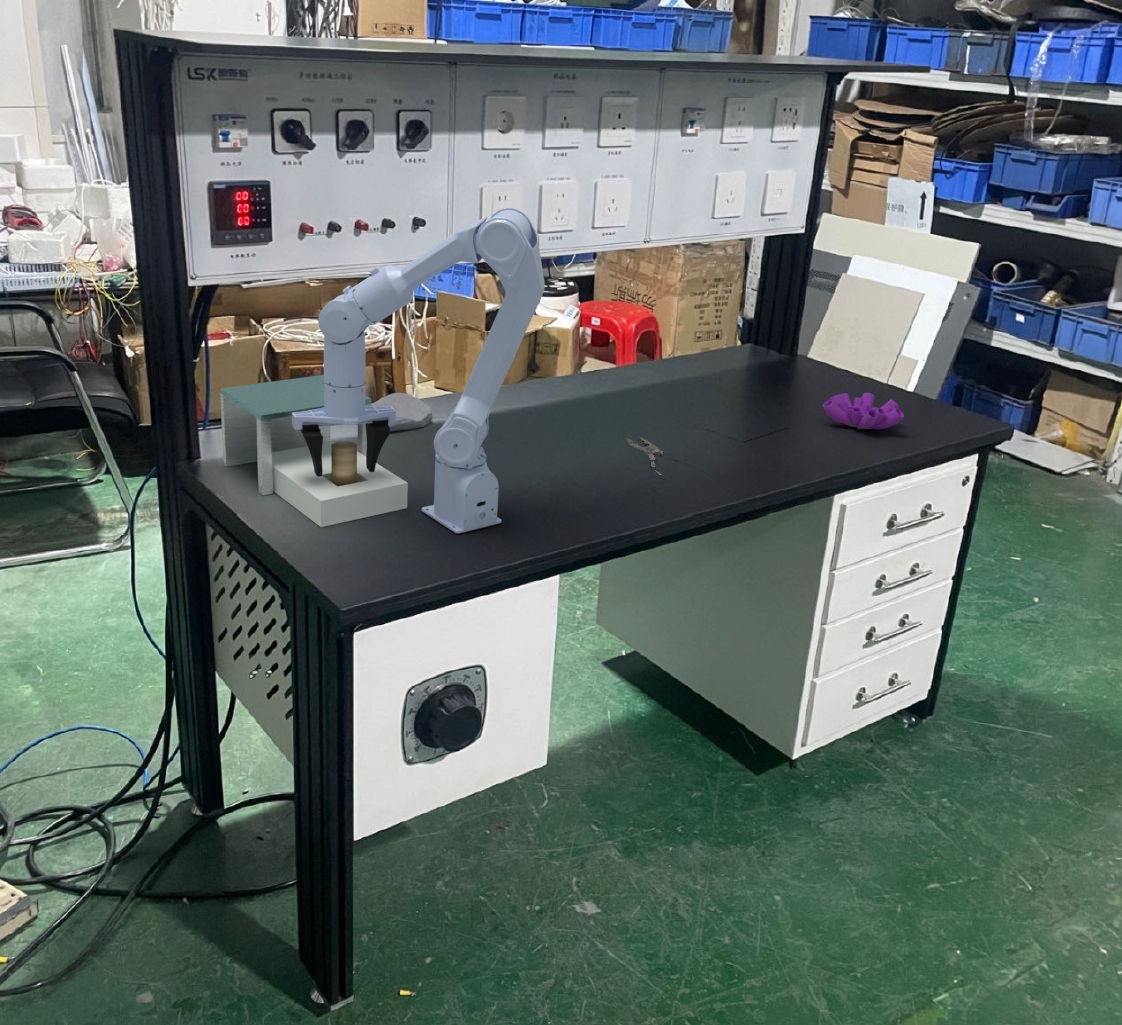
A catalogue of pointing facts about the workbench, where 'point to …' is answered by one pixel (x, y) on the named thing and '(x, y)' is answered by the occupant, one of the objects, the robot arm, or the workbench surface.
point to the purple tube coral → (863, 411)
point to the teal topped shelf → (271, 422)
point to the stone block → (406, 411)
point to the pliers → (646, 449)
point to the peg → (344, 463)
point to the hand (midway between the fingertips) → (344, 471)
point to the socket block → (335, 488)
